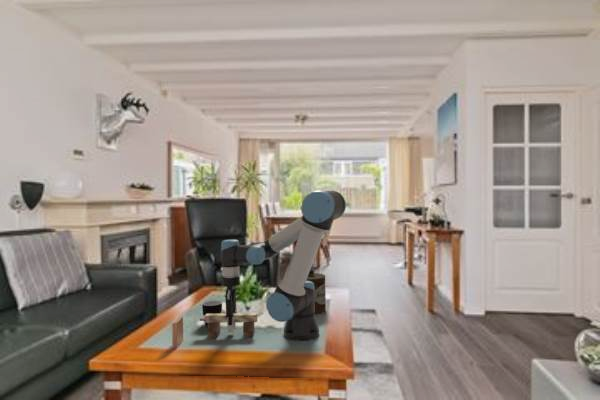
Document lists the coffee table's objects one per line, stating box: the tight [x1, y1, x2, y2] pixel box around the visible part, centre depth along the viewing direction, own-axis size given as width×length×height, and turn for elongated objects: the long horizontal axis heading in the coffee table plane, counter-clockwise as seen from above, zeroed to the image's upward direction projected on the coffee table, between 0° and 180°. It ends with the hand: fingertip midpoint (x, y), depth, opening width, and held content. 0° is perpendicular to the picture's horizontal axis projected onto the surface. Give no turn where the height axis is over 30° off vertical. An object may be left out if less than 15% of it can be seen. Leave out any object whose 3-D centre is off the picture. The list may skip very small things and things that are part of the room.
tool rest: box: [207, 322, 256, 339], centre depth 173 cm, size 19×6×6 cm, turn 90°
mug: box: [201, 299, 223, 327], centre depth 189 cm, size 12×9×10 cm
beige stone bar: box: [199, 312, 258, 324], centre depth 173 cm, size 24×5×3 cm, turn 90°
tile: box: [171, 316, 184, 349], centre depth 163 cm, size 2×8×10 cm, turn 0°
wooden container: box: [306, 267, 327, 316], centre depth 208 cm, size 15×15×22 cm
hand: (231, 330), depth 173 cm, fingers closed on beige stone bar, 3 cm apart
